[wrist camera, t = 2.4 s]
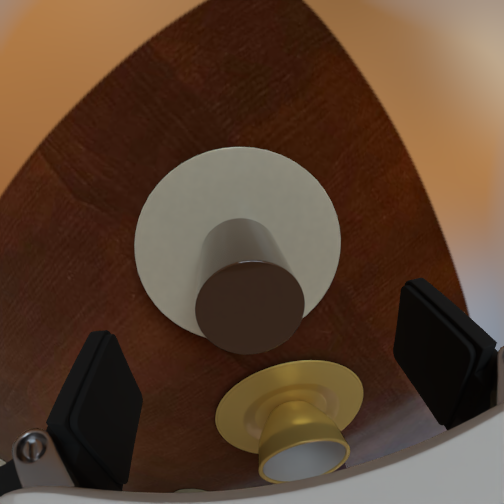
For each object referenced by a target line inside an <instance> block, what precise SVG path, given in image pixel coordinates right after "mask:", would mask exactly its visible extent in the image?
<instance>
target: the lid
mask: <svg viewBox="0 0 504 504" xmlns="http://www.w3.org/2000/svg"><path fill="white" fill-rule="evenodd" d="M340 244H341V237H340V227H339V222H338V218H337V214H336V212H335V209H334V207H333V204H332V202H331V200H330V198H329V196H328V195H327V193H326V191H325V190H324V189H323V187H322V186H321V185H320V183H319V182H318V181H317V180H316V179H315V178H314V177H313V176H312V175H311V174H310V173H309V172H308V171H307V170H306V169H304V168H303V167H301V166H300V165H299V164H297V163H296V162H294V161H292V160H290V159H288V158H286V157H285V156H283V155H280V154H277V153H274V152H271V151H268V150H264V149H259V148H254V147H241V146H236V147H224V148H219V149H214V150H210V151H207V152H204V153H202V154H199V155H196V156H194V157H192V158H190V159H188V160H187V161H185V162H183V163H181V164H180V165H179V166H177V167H176V168H175V169H173V170H172V171H171V172H169V173H168V174H167V175H166V176H165V177H164V178H163V179H162V180H161V181H160V182H159V183H158V185H157V186H156V187H155V188H154V190H153V191H152V192H151V194H150V195H149V197H148V199H147V201H146V203H145V204H144V206H143V208H142V211H141V214H140V216H139V219H138V223H137V227H136V232H135V243H134V249H135V261H136V265H137V270H138V274H139V276H140V279H141V282H142V284H143V286H144V288H145V290H146V292H147V294H148V295H149V297H150V298H151V300H152V301H153V303H154V304H155V305H156V306H157V307H158V308H159V310H160V311H161V312H162V313H163V314H164V315H165V316H167V317H168V318H169V319H170V320H171V321H173V322H174V323H176V324H177V325H179V326H180V327H182V328H184V329H186V330H188V331H190V332H192V333H194V334H197V335H199V336H202V337H205V338H207V339H208V340H209V341H210V342H211V343H213V344H214V345H216V346H217V347H219V348H221V349H223V350H225V351H228V352H231V353H236V354H258V353H262V352H266V351H269V350H271V349H273V348H276V347H277V346H279V345H281V344H282V343H284V342H285V341H286V340H288V339H289V338H290V337H291V336H292V335H293V333H294V332H295V331H296V330H297V328H298V326H299V325H300V323H301V321H302V318H303V317H305V316H306V315H307V314H308V313H309V312H310V311H311V310H312V309H313V308H314V307H315V306H316V305H317V304H318V303H319V301H320V300H321V299H322V297H323V296H324V294H325V293H326V291H327V290H328V288H329V286H330V284H331V282H332V280H333V278H334V275H335V272H336V269H337V266H338V262H339V256H340Z"/></svg>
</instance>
